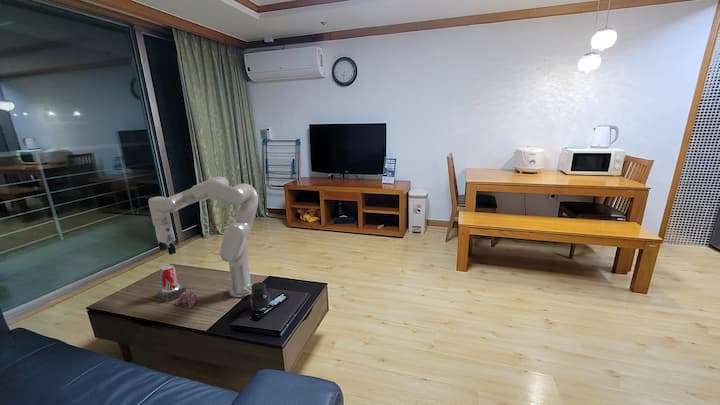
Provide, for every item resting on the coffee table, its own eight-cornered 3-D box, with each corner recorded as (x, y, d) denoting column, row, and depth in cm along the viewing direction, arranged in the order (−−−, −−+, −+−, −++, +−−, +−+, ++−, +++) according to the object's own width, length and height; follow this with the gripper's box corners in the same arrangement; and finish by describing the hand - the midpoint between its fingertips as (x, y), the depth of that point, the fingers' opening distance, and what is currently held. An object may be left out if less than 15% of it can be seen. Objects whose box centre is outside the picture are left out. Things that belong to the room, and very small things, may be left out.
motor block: (187, 293, 163) (186, 286, 162) (167, 302, 155) (166, 295, 154) (174, 286, 171) (173, 279, 170) (154, 294, 164) (153, 287, 162)
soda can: (171, 291, 158) (167, 270, 155) (160, 290, 159) (155, 269, 156) (181, 284, 164) (178, 264, 161) (170, 283, 166) (166, 263, 163)
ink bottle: (263, 299, 156) (261, 279, 153) (274, 305, 151) (272, 283, 148) (247, 309, 148) (244, 287, 145) (258, 315, 144) (255, 292, 140)
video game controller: (196, 307, 153) (199, 293, 155) (189, 308, 149) (192, 294, 151) (181, 304, 157) (184, 290, 158) (174, 305, 152) (177, 291, 154)
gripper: (177, 221, 152) (183, 252, 156) (161, 216, 161) (167, 246, 165) (161, 225, 146) (168, 258, 150) (145, 220, 155) (152, 251, 159)
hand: (168, 251), depth 158 cm, fingers open, 9 cm apart
